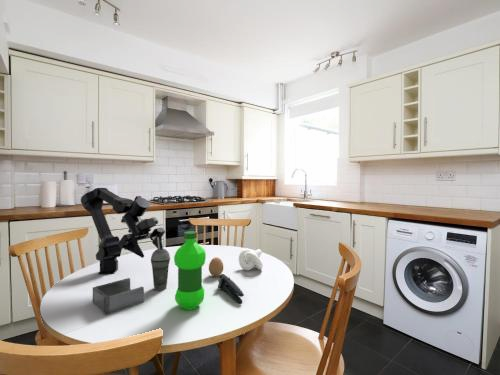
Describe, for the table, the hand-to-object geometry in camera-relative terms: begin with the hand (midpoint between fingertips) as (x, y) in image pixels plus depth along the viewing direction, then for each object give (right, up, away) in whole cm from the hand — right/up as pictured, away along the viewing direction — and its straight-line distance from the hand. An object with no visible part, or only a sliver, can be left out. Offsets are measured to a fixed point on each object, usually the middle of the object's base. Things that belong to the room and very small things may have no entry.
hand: (153, 254), depth 103 cm
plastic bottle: (+18, -14, -15) cm, 27 cm away
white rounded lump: (+40, -13, +23) cm, 48 cm away
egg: (+23, -13, +12) cm, 29 cm away
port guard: (-7, -13, -13) cm, 19 cm away
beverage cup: (+3, -13, -2) cm, 14 cm away
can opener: (+31, -14, -5) cm, 34 cm away
